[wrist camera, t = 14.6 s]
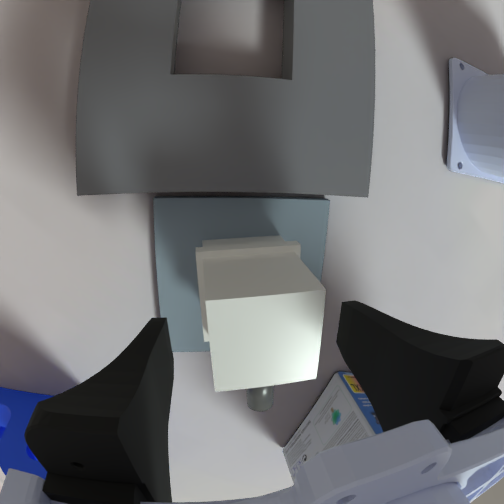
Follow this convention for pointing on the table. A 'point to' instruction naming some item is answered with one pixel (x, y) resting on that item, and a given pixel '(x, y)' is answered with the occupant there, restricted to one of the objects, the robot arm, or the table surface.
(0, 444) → the bracket
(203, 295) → the plug
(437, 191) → the table surface
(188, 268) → the mat
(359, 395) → the ink cartridge box
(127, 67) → the grey panel
